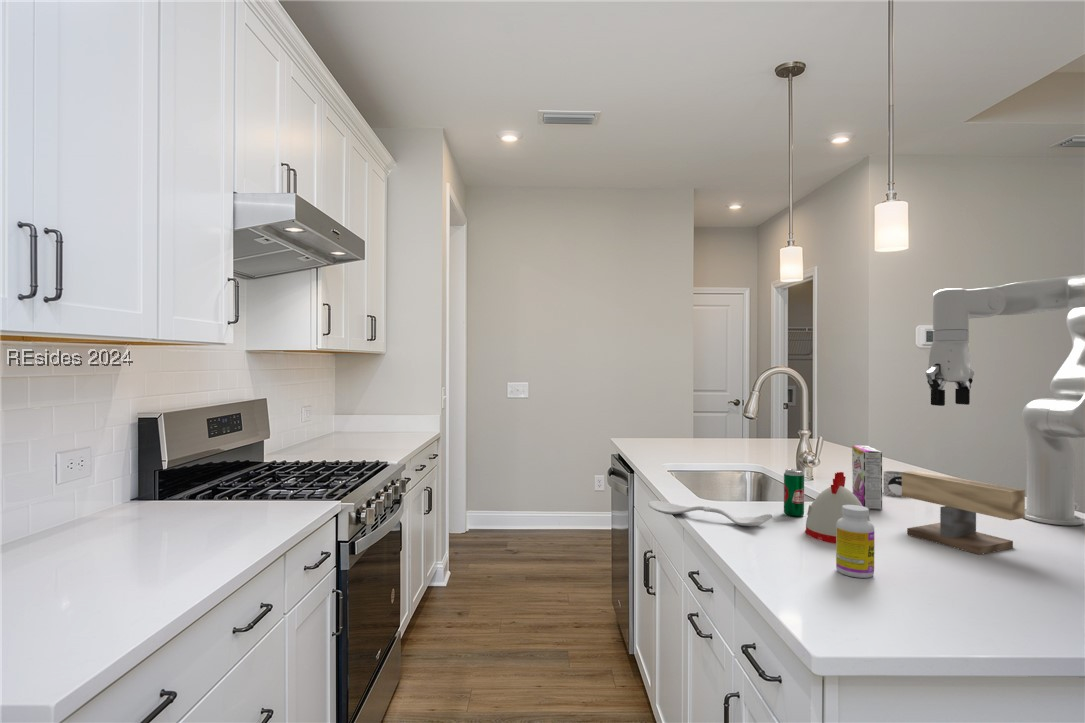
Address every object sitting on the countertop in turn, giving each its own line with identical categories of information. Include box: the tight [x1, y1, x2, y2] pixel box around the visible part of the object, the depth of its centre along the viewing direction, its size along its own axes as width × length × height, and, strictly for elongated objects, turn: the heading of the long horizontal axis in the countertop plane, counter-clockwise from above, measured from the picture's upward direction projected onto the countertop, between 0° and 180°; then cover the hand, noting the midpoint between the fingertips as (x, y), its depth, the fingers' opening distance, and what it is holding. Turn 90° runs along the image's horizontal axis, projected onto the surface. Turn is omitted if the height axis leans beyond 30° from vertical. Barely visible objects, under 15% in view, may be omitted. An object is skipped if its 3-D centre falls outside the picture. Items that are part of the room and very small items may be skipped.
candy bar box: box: [851, 444, 883, 510], centre depth 170 cm, size 11×5×16 cm, turn 168°
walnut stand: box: [906, 505, 1014, 555], centre depth 137 cm, size 12×16×8 cm
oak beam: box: [901, 470, 1026, 521], centre depth 137 cm, size 5×24×6 cm, turn 24°
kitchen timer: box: [805, 471, 871, 544], centre depth 141 cm, size 14×14×15 cm
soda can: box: [783, 468, 805, 518], centre depth 159 cm, size 5×5×12 cm
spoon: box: [647, 500, 773, 527], centre depth 155 cm, size 9×32×4 cm, turn 52°
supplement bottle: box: [835, 505, 875, 579], centre depth 116 cm, size 7×7×13 cm
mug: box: [882, 470, 903, 497], centre depth 184 cm, size 10×7×7 cm
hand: (950, 404), depth 151 cm, fingers open, 9 cm apart
